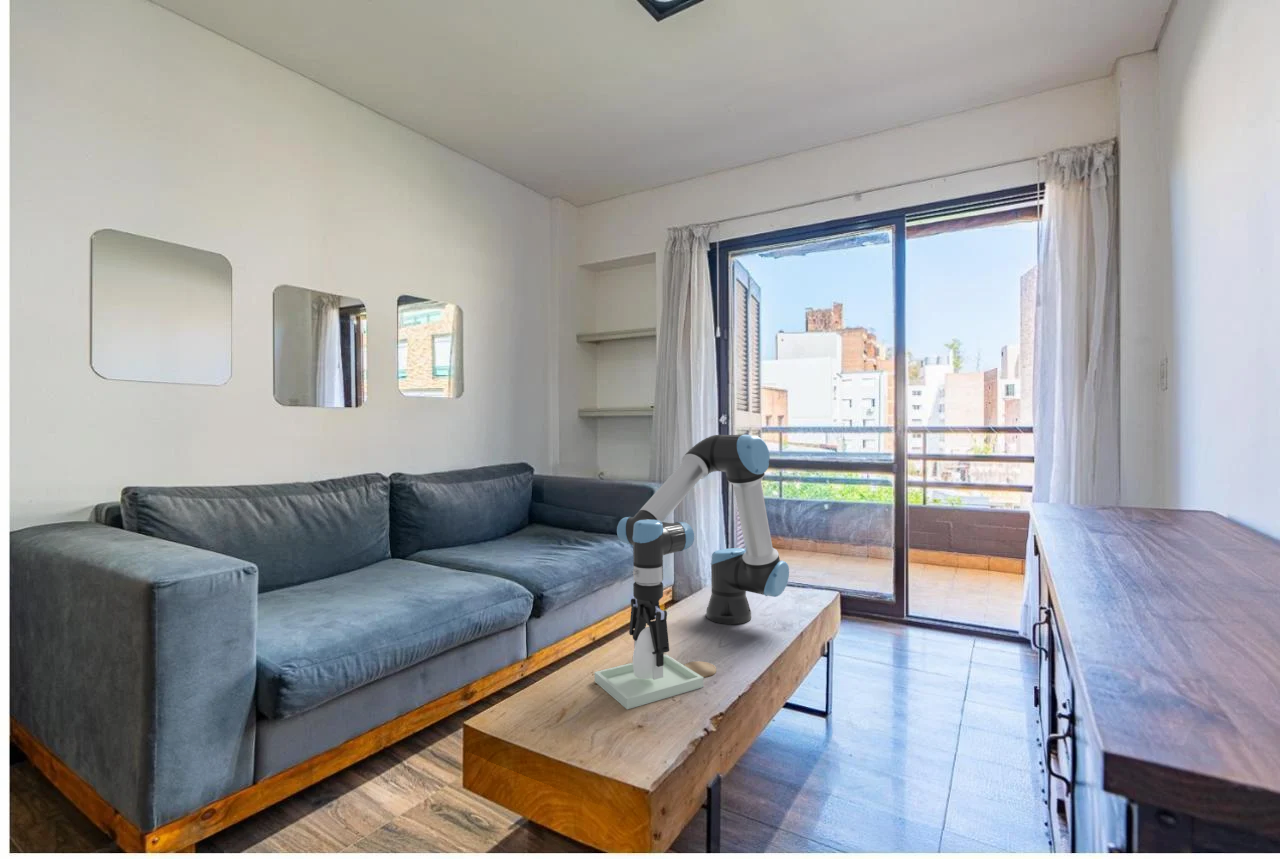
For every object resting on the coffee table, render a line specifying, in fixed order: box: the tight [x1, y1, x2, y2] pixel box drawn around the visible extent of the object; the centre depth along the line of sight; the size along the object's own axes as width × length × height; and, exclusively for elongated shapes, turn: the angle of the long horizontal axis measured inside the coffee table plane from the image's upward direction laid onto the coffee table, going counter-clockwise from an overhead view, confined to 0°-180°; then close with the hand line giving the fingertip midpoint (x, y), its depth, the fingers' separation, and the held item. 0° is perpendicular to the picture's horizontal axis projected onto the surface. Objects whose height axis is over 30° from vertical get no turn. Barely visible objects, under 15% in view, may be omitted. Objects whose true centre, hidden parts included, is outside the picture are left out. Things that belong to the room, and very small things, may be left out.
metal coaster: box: [683, 660, 717, 678], centre depth 152 cm, size 9×9×1 cm
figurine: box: [632, 626, 654, 679], centre depth 144 cm, size 7×8×12 cm
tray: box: [594, 653, 705, 710], centre depth 144 cm, size 22×17×2 cm
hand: (648, 671), depth 144 cm, fingers closed on figurine, 8 cm apart
